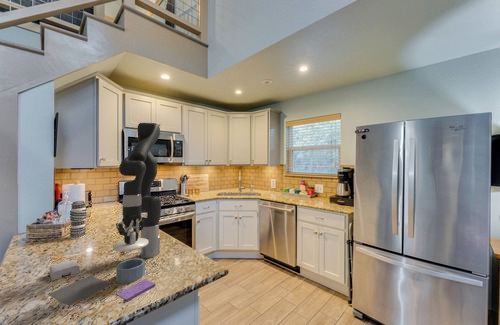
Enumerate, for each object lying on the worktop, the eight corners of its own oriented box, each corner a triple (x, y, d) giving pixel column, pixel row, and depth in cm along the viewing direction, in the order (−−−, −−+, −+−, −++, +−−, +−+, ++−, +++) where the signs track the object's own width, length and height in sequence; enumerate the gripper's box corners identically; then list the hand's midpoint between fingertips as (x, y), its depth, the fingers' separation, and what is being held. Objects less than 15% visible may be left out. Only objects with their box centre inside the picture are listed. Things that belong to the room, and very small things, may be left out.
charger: (72, 264, 107) (79, 275, 97) (47, 271, 100) (52, 283, 90) (72, 255, 107) (79, 264, 97) (47, 261, 100) (52, 272, 90)
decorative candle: (81, 234, 152) (82, 199, 153) (88, 236, 148) (89, 201, 149) (66, 238, 144) (67, 201, 144) (73, 240, 140) (74, 203, 140)
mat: (90, 277, 94) (90, 275, 94) (111, 286, 88) (111, 283, 88) (47, 296, 81) (47, 294, 81) (69, 308, 75) (69, 305, 75)
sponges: (115, 298, 81) (115, 293, 81) (145, 282, 92) (145, 278, 92) (125, 304, 78) (126, 299, 78) (155, 287, 89) (155, 282, 89)
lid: (134, 237, 104) (135, 226, 104) (155, 242, 98) (155, 230, 98) (105, 247, 91) (106, 234, 91) (127, 253, 86) (127, 239, 86)
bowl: (133, 270, 102) (133, 256, 102) (149, 275, 97) (149, 261, 97) (110, 281, 92) (110, 266, 92) (127, 287, 87) (127, 272, 87)
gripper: (140, 201, 103) (139, 236, 103) (111, 206, 90) (110, 246, 90) (151, 202, 100) (150, 238, 100) (122, 207, 87) (121, 249, 87)
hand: (131, 242), depth 95 cm, fingers closed on lid, 3 cm apart
